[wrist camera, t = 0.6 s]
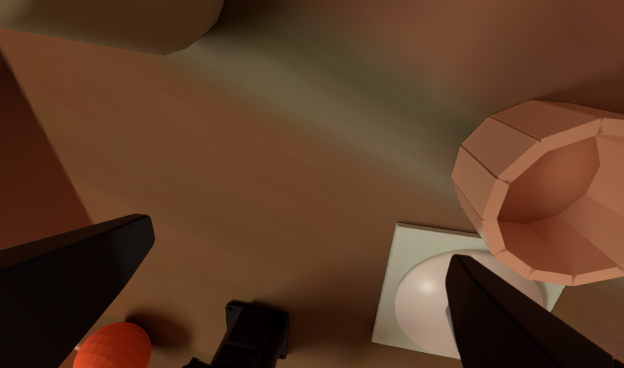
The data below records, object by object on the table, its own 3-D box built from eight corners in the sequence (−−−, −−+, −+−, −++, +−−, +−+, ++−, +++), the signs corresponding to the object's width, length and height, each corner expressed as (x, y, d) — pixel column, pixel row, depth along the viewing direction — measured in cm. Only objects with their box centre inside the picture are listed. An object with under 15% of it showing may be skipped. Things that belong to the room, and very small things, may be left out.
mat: (514, 364, 27) (517, 370, 26) (371, 336, 28) (371, 341, 28) (577, 248, 21) (583, 253, 21) (396, 222, 23) (397, 226, 22)
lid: (509, 360, 26) (533, 410, 22) (384, 336, 27) (387, 379, 23) (561, 262, 21) (602, 304, 18) (408, 239, 23) (416, 273, 19)
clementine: (165, 362, 36) (121, 429, 29) (113, 346, 36) (59, 408, 30) (164, 318, 32) (114, 383, 26) (107, 301, 33) (45, 360, 26)
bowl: (568, 235, 21) (639, 297, 16) (439, 217, 22) (463, 268, 17) (633, 108, 17) (756, 132, 12) (474, 94, 18) (520, 110, 13)
